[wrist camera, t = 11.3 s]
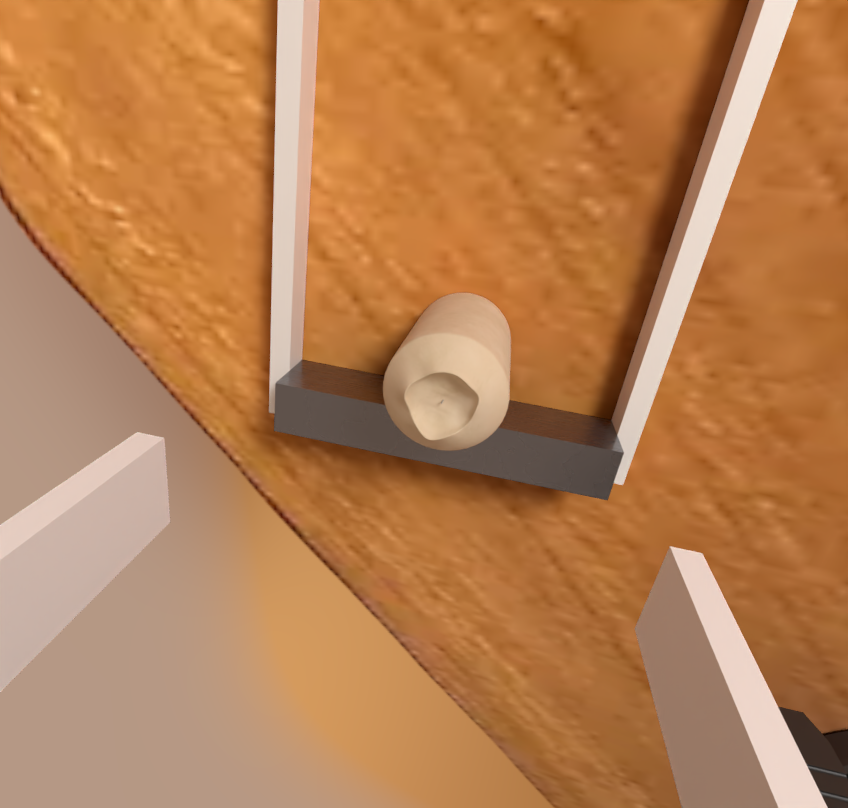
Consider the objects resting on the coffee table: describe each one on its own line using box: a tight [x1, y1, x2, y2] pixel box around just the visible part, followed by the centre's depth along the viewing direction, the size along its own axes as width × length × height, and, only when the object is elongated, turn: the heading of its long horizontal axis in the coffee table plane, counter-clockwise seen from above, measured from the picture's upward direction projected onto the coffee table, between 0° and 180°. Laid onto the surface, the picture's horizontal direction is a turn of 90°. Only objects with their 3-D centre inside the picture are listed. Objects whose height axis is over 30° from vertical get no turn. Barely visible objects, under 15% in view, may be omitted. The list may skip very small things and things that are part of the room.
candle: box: [383, 293, 511, 451], centre depth 26 cm, size 6×6×10 cm
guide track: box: [269, 0, 797, 500], centre depth 26 cm, size 25×21×4 cm
